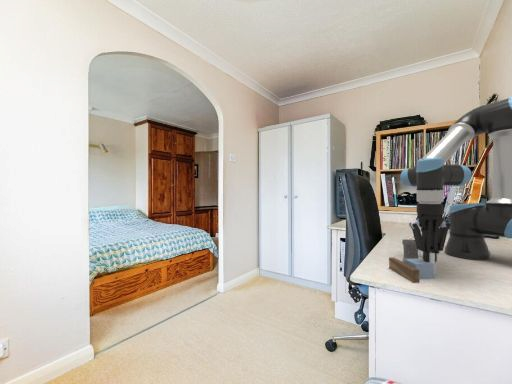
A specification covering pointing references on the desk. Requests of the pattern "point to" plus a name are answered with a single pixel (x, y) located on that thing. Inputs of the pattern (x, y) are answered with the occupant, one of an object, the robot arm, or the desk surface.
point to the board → (404, 269)
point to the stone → (409, 249)
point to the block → (422, 268)
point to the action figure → (418, 250)
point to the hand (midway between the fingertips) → (429, 271)
